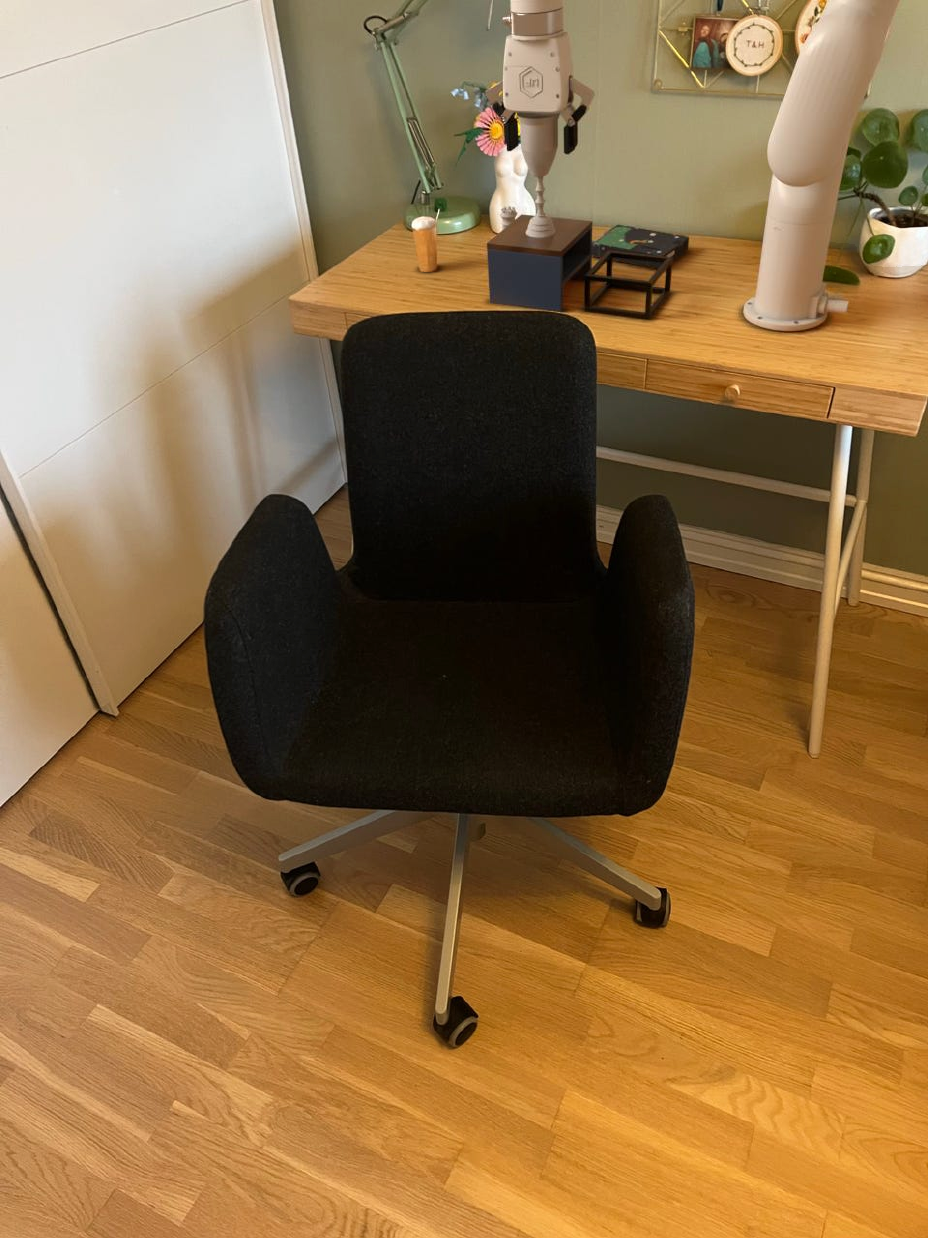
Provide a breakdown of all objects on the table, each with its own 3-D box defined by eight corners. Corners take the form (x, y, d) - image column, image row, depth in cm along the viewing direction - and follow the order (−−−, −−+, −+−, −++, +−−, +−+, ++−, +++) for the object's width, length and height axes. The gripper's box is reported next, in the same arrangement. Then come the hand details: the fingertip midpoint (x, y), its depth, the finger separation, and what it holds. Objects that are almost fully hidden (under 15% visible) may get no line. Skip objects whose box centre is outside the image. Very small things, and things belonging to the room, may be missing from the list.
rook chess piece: (516, 246, 182) (514, 202, 176) (525, 254, 178) (524, 209, 173) (494, 251, 181) (492, 207, 175) (503, 259, 177) (501, 214, 172)
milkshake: (448, 269, 175) (444, 212, 169) (421, 275, 174) (415, 218, 168) (439, 261, 179) (435, 205, 172) (412, 267, 177) (406, 211, 171)
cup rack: (670, 292, 161) (672, 257, 157) (649, 319, 154) (651, 283, 150) (607, 285, 165) (608, 250, 161) (583, 311, 158) (584, 275, 154)
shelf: (591, 279, 167) (592, 220, 161) (561, 312, 158) (560, 251, 152) (523, 271, 172) (521, 214, 166) (489, 302, 163) (486, 242, 157)
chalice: (558, 239, 155) (558, 118, 144) (516, 239, 157) (513, 119, 145) (564, 223, 161) (564, 105, 149) (523, 223, 162) (520, 106, 150)
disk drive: (688, 251, 174) (616, 238, 181) (690, 235, 172) (617, 222, 179) (662, 271, 168) (588, 256, 175) (663, 255, 166) (589, 241, 173)
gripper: (472, 29, 140) (480, 154, 151) (584, 28, 133) (584, 160, 145) (494, 18, 145) (500, 140, 156) (603, 17, 138) (601, 145, 149)
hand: (540, 150), depth 150 cm, fingers open, 9 cm apart
